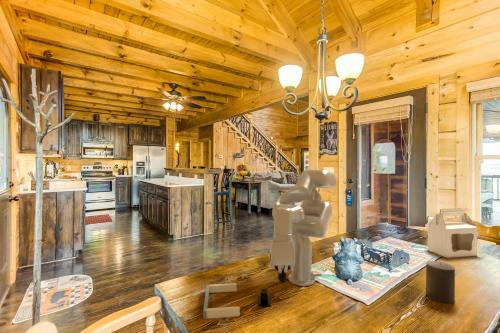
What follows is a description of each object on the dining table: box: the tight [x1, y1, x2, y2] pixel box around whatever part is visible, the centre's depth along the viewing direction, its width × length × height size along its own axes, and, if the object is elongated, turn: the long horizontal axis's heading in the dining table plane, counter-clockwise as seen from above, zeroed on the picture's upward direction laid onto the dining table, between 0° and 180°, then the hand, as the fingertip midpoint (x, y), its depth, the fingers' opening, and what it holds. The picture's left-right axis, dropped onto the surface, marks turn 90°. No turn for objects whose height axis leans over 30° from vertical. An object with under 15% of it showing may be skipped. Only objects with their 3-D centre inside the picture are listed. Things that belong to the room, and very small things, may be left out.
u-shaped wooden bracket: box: [202, 282, 241, 320], centre depth 101 cm, size 13×19×3 cm
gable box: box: [427, 207, 478, 258], centre depth 156 cm, size 22×13×28 cm, turn 99°
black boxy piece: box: [256, 288, 272, 308], centre depth 102 cm, size 12×7×5 cm, turn 178°
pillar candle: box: [425, 260, 456, 304], centre depth 105 cm, size 10×10×15 cm
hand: (282, 281), depth 103 cm, fingers closed
